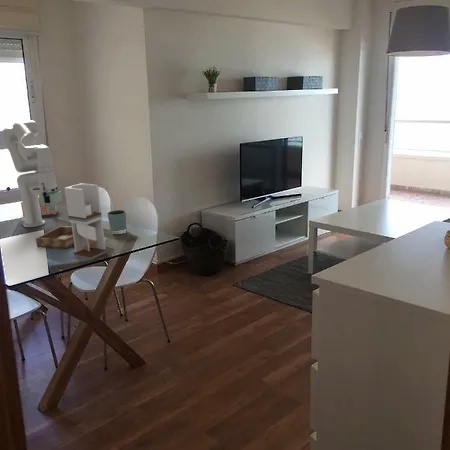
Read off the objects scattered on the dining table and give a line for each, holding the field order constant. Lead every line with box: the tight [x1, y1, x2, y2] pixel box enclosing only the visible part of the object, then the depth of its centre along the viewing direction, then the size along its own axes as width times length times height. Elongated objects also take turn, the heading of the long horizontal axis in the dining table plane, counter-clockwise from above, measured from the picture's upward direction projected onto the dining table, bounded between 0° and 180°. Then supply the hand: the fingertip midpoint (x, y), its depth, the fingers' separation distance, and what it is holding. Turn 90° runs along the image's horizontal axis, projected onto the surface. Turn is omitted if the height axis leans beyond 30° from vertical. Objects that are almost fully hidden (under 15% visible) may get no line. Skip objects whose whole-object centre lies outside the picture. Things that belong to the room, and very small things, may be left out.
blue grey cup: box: [107, 209, 128, 232], centre depth 288 cm, size 10×10×12 cm
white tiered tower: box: [63, 182, 107, 261], centre depth 251 cm, size 11×11×35 cm
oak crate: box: [35, 225, 74, 250], centre depth 278 cm, size 18×22×5 cm
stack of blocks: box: [20, 195, 59, 217], centre depth 336 cm, size 21×6×12 cm, turn 93°
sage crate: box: [39, 190, 64, 205], centre depth 283 cm, size 10×6×6 cm, turn 74°
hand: (51, 201), depth 283 cm, fingers closed on sage crate, 6 cm apart
